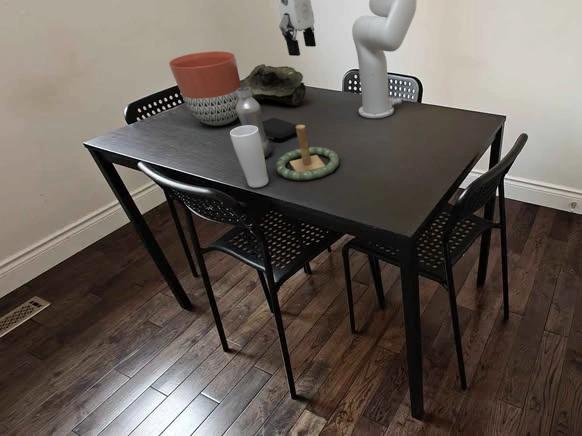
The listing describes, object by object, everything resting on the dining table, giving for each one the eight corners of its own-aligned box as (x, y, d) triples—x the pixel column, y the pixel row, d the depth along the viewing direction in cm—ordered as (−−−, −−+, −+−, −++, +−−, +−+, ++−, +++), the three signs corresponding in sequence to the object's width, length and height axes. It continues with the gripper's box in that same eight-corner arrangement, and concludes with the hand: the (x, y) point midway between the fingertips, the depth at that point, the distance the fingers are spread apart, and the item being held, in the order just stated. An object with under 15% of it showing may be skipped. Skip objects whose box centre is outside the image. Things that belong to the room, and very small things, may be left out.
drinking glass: (248, 178, 112) (233, 125, 104) (274, 176, 113) (261, 124, 104) (242, 191, 107) (225, 137, 98) (269, 189, 107) (255, 135, 99)
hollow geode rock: (309, 120, 158) (325, 84, 158) (286, 105, 146) (303, 66, 147) (260, 104, 170) (275, 71, 171) (236, 89, 159) (252, 53, 160)
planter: (178, 129, 141) (154, 64, 128) (220, 109, 155) (202, 49, 143) (223, 137, 135) (202, 70, 122) (262, 116, 149) (247, 53, 137)
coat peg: (317, 158, 121) (310, 118, 114) (326, 169, 115) (319, 128, 108) (290, 165, 118) (281, 124, 111) (298, 177, 112) (289, 135, 105)
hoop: (327, 148, 127) (326, 140, 125) (348, 171, 114) (347, 163, 113) (270, 161, 120) (268, 154, 119) (286, 188, 108) (284, 180, 106)
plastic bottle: (276, 153, 125) (261, 86, 113) (263, 163, 119) (245, 94, 108) (258, 150, 126) (241, 84, 115) (244, 160, 121) (224, 92, 110)
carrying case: (248, 134, 136) (277, 145, 129) (246, 125, 134) (275, 136, 127) (275, 123, 143) (304, 133, 136) (273, 115, 141) (302, 124, 134)
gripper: (287, -14, 100) (300, 59, 110) (318, -23, 113) (327, 43, 123) (259, -14, 101) (275, 58, 111) (293, -23, 115) (304, 42, 125)
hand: (303, 50), depth 117 cm, fingers open, 9 cm apart
